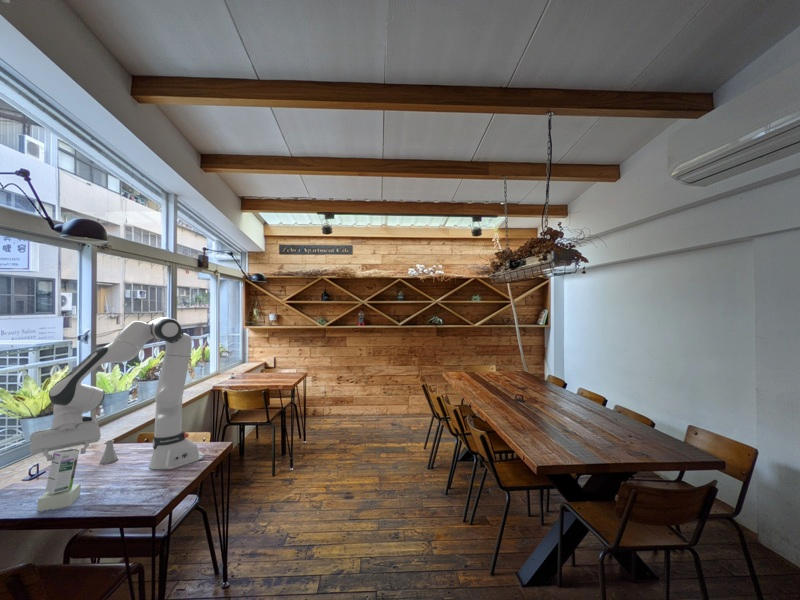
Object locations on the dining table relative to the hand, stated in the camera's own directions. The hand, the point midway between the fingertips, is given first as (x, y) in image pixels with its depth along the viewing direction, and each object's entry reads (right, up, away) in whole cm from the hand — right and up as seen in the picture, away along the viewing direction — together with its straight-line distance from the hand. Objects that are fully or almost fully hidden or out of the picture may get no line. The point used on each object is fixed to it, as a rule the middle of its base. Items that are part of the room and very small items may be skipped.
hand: (66, 456), depth 134 cm
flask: (-15, -19, +36) cm, 44 cm away
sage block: (0, -17, -2) cm, 17 cm away
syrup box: (-1, -12, -3) cm, 12 cm away
